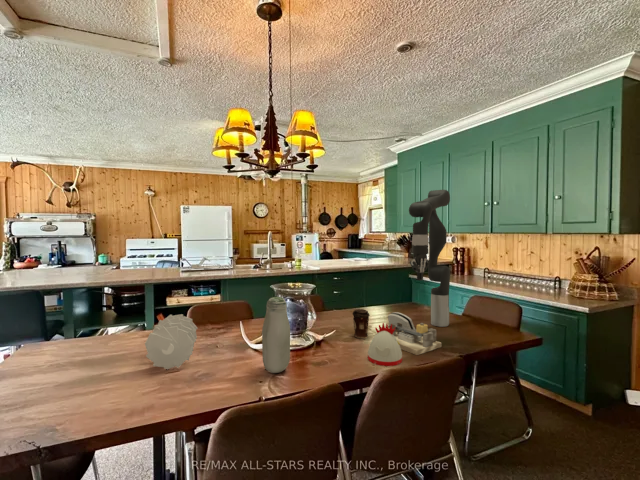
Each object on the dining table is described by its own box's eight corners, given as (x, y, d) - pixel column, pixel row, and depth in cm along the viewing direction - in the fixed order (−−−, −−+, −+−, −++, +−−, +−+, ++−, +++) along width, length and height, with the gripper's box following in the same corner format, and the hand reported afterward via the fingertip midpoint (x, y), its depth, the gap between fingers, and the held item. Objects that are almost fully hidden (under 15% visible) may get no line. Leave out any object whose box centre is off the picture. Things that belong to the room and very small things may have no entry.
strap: (397, 327, 159) (397, 324, 159) (426, 335, 145) (426, 333, 145) (393, 328, 157) (393, 325, 157) (421, 337, 143) (421, 334, 143)
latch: (422, 330, 148) (422, 321, 147) (427, 331, 145) (427, 323, 145) (416, 331, 145) (416, 323, 145) (421, 333, 143) (421, 324, 143)
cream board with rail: (403, 334, 165) (403, 319, 165) (441, 346, 147) (441, 330, 147) (379, 340, 155) (379, 325, 155) (416, 355, 137) (417, 337, 137)
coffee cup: (350, 337, 160) (350, 311, 159) (354, 333, 167) (354, 308, 167) (367, 340, 156) (367, 313, 156) (371, 335, 164) (371, 309, 164)
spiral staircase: (187, 358, 145) (180, 380, 121) (147, 344, 140) (132, 364, 116) (205, 319, 147) (202, 333, 123) (167, 305, 143) (156, 316, 119)
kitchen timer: (400, 368, 124) (400, 329, 124) (364, 363, 129) (364, 325, 129) (403, 355, 138) (403, 320, 137) (371, 351, 142) (371, 317, 142)
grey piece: (418, 332, 168) (413, 315, 166) (411, 336, 166) (406, 319, 164) (396, 324, 183) (391, 308, 181) (390, 328, 181) (385, 312, 179)
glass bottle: (278, 379, 115) (278, 301, 114) (257, 372, 120) (256, 297, 120) (295, 369, 123) (295, 296, 123) (274, 363, 129) (274, 293, 128)
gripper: (422, 243, 162) (422, 278, 163) (404, 244, 155) (404, 280, 155) (435, 244, 156) (435, 279, 157) (417, 244, 149) (417, 282, 149)
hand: (420, 280), depth 156 cm, fingers closed
